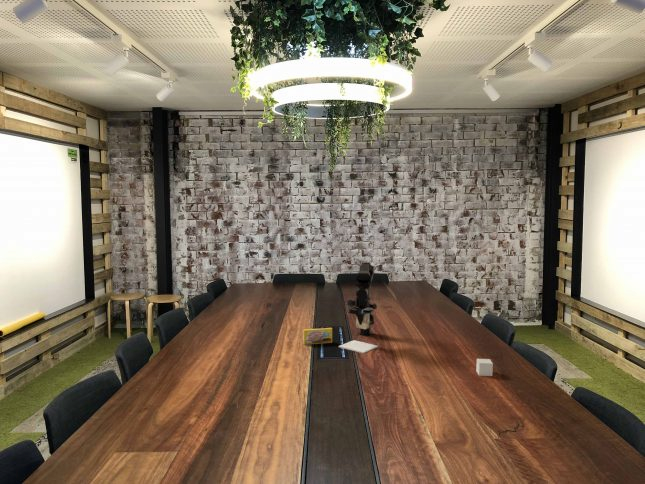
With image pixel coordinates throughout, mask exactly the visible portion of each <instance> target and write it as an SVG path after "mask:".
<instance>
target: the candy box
mask: <svg viewBox="0 0 645 484" xmlns="http://www.w3.org/2000/svg"><path fill="white" fill-rule="evenodd" d="M302 332H303V334H302V335H303V337H302V338H303V339H302V344H303V345H304V346H306V345H317V344H318V345H319V344H330V343H331V344H332V343H333V328H332V327H326V328H325V327H322V328H308V329H307V328H306V329H303V331H302Z"/></svg>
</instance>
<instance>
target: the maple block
mask: <svg viewBox="0 0 645 484" xmlns="http://www.w3.org/2000/svg"><path fill="white" fill-rule="evenodd" d="M363 313H365V312H363ZM369 314H370V313H365V314H364V318H363V321H362V325H360V324H359V322H358V318H357V316H356V315H355V328H357V329H360V328H361V329H367V328H369Z"/></svg>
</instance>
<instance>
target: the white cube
mask: <svg viewBox="0 0 645 484" xmlns="http://www.w3.org/2000/svg"><path fill="white" fill-rule="evenodd" d="M475 367H476V369H475V371H476V373H477V374H478V376H479V377H481V376H482V377H483V376H485V377H492V376H493V372H494V369H493V368H494V363H493V362H492V360H491V359H490V358H476V366H475Z"/></svg>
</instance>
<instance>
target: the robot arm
mask: <svg viewBox="0 0 645 484" xmlns="http://www.w3.org/2000/svg"><path fill="white" fill-rule="evenodd" d="M374 275H375V267H374V265H372V264H371V263H370V262H364V261H363V262H361V265H359V271H358V272H357V274H356V277H355V287H357V291H356V295H355V296H356V297H355V299H354V300H353V299H348V300H347V306H348V307H349V309H348V314H352V315H355V317H356V316H357V318H358V322H359V324H360V325H362V321H363V318H364V314H365V313H370V314H369V328H367V329H361V328H359V329H360V330H359V332H358V333H357V334H358V335H362V336H367V337H368V336H371V335H372V334H374V332H372V330H371V329H372V326H373V325H375V317H374V314H373V311H374V310H377V306H378V305H377V304H376V303H373V302H370V300H371V296H370V295H371V285H372V281H373V278H374V277H373V276H374ZM372 309H373V310H372ZM363 312H365V313H363Z"/></svg>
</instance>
